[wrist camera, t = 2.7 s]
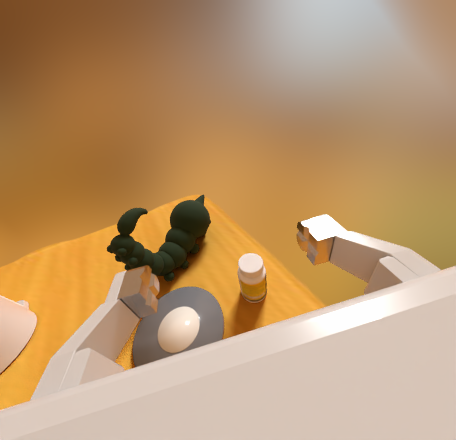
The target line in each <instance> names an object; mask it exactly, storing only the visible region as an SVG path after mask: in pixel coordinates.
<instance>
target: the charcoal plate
mask: <svg viewBox="0 0 456 440" xmlns="http://www.w3.org/2000/svg"><path fill="white" fill-rule="evenodd" d="M223 335H224V317H223V313H222V310H221V307H220V305H219V303H218V301H217V300H216V299H215V297H214V296H213V295H212V294H211V293H209V292H208V291H206V290H204V289H201V288H198V287H183V288H179V289H176V290H173V291H171V292H169V293H167V294H165V295H164V296H163V297H161V298H160V299H159V300H158V306H157V313H154V314H151V315H148V316H145V317H143V318H142V320H141V322H140V324H139V326H138V328H137V331H136V334H135V337H134V342H133V361H134V365H135V367H138V366H141V365H144V364H148V363H151V362H154V361H157V360H160V359H163V358H166V357H170V356H173V355H176V354H179V353H182V352H185V351H189V350H192V349H195V348H198V347H201V346H204V345H207V344H211V343H214V342H217V341H220V340H223Z"/></svg>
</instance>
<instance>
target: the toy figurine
mask: <svg viewBox="0 0 456 440" xmlns="http://www.w3.org/2000/svg"><path fill="white" fill-rule="evenodd" d="M147 213H148V212H147V210H146V209H142V208H134V209H131V210H129V211H127V212H126V213H125V214H124V215H122V217H121V218H120V220H119V222H118V224H117V229H118V231H119V233H120V235H118V236H116V237H114V238H113V240H112V241H111V244H110V245H109V246H108V247H107V251H108V252H110V253H114V254H116V256H115V259H116V261H118V262H123V263H125V264H126V265H125V269H126V270H131V269H135V268H139V267H142V266H149V267H150V268H151V269H152V271H151V273H152V274H154V275H156V276H164V278H165V280H166V281H172V280H173V279H174V277H175V276H174V273H173V272H172V270H173V269H176V268H178V267H181V268H182V269H186V268H187V267H188V265H189V263H188V261H187V260H186V257H187V253H188V252H190V253H193V254H196V253H197V252H198V251H199V245H198V244H196V243H195V242H196V238H198V237H201V236H204V235H205V234H206V231H207V229H208V227H209V224H210V223H211V220H210V216H209V213H208V211H207V209H206V208H205V206H204V195H201V196H200V197H199V198H197V199H196V200H195V201H194V200H187V201H183V202H181V203H179V204H178V205H177V206H176V207H175V208H174V209H173V211H172V213H171V216H170V224H171V229H170V230H169V231H168V233H167V235H166V238H165V243H164V244H163V245H162V246H161V247H160V249H159V251H158V252H157V253H152V252H151V251H150V250H148V249H144V247H143V245H142V244H141V243H139V242H136V241H135V240H134V239H133V237H131V236H130V234H131V233H132V232H133V230H134V228H135V226H136V223H137V221H138V219H139V217H140V216H141V215H143V214H147Z"/></svg>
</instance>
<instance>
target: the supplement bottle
mask: <svg viewBox="0 0 456 440" xmlns="http://www.w3.org/2000/svg"><path fill="white" fill-rule="evenodd" d="M238 266H239V268H238V278H239V283H240V287H241V293H242V295H243V297H244V298H245V299H246V300H247V301H249V302H252V303H257V302H260V301H262V300H263V299H264V298H265V296H266V294H267V283H266V270H265V267H264V265H263V260H262V258H261V257H260V256H259V255H257V254H254V253H248V254H245V255H243V256H242V257H241V258H240V259H239V262H238Z"/></svg>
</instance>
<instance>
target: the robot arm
mask: <svg viewBox="0 0 456 440" xmlns="http://www.w3.org/2000/svg"><path fill="white" fill-rule="evenodd" d="M297 228H298V229H299V232H298V233H297V242H298V244H299V246H300V248H301V249H302V250H303V251H305V252H307V257H308V258H309V260H310V261H311V262H312V263H313V265H317V264H321V263H325V262H328V261H330V263H332V264H334V265H336V266H338V267H340V268H341V269H343V270H345V271H347V272H349V273H351V274H353V275H354V276H356V277H358V278H360V279H362V280H364V281H366V282H367V283H368V284H367V286H366V288H365V291H364V294H365V295H362V296H359V297H356V298H353V299H350V300H347V301H343V302H341V303H337V304H334V305H331V306H328V307H324V308H321V309H318V310H315V311H312V312H309V313H305V314H302V315H299V316H296V317H293V318H290V319H286V320H283V321H280V322H277V323H274V324H271V325H267V326H264V327H261V328H258V329H255V330H252V331H249V332H245V333H242V334H239V335H236V336H233V337H230V338H226V339H223V340H220V341H217V342H214V343H211V344H207V345H204V346H201V347H198V348H195V349H192V350H189V351H185V352H182V353H179V354H176V355H173V356H170V357H166V358H163V359H160V360H157V361H154V362H151V363H148V364H144V365H141V366H138V367H135V368H132V369H129V370H126V371H124V368H123V367H122V366H120V365H119V364H117V363H115V360H116V359H117V357H118V355H119V354H120V352H121V350H122V349H123V347H124V345H125V344H126V342H127V340H128V339H129V337H130V335H131V334H132V332H133V330H134V328H135V327H136V325H137V323H138V322H139V320H140V319H139V318H142V317H145V316H148V315H151V314H154V313H157V306H158V299H157V298H156V296H157V295H158V293H159V288H160V287H159V281H158V278H157V277H156V275H154V274H152V273H151V271H152V269H151V268H150V267H149V266H142V267H139V268H135V269H131V270H127V271H124V272H120V273H117V274H116V275H115V277H114V279H113V282H112V285H111V287H110V290H109V293H108V295H107V298H106V301H105V303H104V304H101V305H100V306H99V307H98V308H97V309H96V311H95V312H94V313H93V314H92V315H91V316H90V317H89V318H88V319H87V320H86V321H85V322H84V323H83V324H82V326H81V327H80V328H79V329H78V330H77V331H76V332H75V333H74V334H73V335H72V336H71V337H70V338H69V339H68V341H67V342H66V343H65V344H64V345H63V346H62V347H61V348H60V349H59V350H58V351H57V352H56V353H55V354H54V356H53V357H52V358H51V359H50V361H49V363H48V365H47V367H46V369H45V371H44V373H43V375H42V377H41V379H40V381H39V383H38V385H37V387H36V389H35V391H34V394H33V396H32V398H31V400H30V401H28V402H25V403H21V404H18V405H15V406H12V407H9V408H6V409H3V410H0V440H456V266H454V267H451V268H448V269H444V270H440V269H439V268H437V267H436V266H435V265H433V264H432V263H430V262H429V261H427V260H426V259H424V258H423V257H421V256H420V255H418V254H417V253H415V252H414V251H413V250H411V249H409V248H406V247H402V246H399V245H395V244H392V243H389V242H385V241H382V240H379V239H375V238H372V237H369V236H366V235H362V234H359V233H356V232H352V231H350V232H348V231H346V230H345V229H344V228H343V227H342V226H340V225H339V224H338V223H337V222H336V221H334V220H333V219H332V218H331V217H330V216H328V215H326V214H324V215H321V216H318V217H314V218H311V219H307V220H304V221H301V222H298V225H297ZM36 322H37V318H36V315H35V313H33V312H32V311H30V310H29V305H28V302H26V301H24V300H20V301H18V302H14V301H12V300H9V299H7V298H5V297H3V296H0V373H1V372H2V371H3V370H4V369H5V368H6V367H7V366H8V365H9V364H10V363H11V362H12V361H13V360H14V359H15V358H16V357H17V356H18V354H19V353H20V352H21V351H22V349H23V348H24V347H25V345H26V344H27V342H28V341H29V339H30V338H31V336H32V334H33V332H34V329H35V327H36Z"/></svg>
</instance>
